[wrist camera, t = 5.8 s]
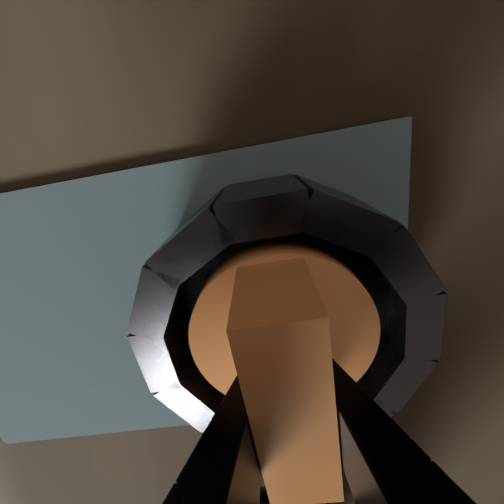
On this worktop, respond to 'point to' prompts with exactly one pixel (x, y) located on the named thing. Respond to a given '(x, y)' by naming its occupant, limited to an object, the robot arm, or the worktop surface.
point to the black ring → (295, 227)
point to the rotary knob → (286, 355)
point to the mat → (137, 269)
